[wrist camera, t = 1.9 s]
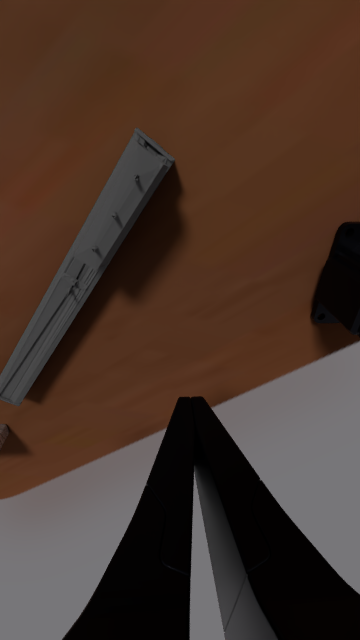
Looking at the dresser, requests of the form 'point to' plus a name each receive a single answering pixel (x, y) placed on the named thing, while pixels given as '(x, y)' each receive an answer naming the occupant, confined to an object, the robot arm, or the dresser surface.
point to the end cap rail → (3, 434)
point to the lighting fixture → (86, 260)
